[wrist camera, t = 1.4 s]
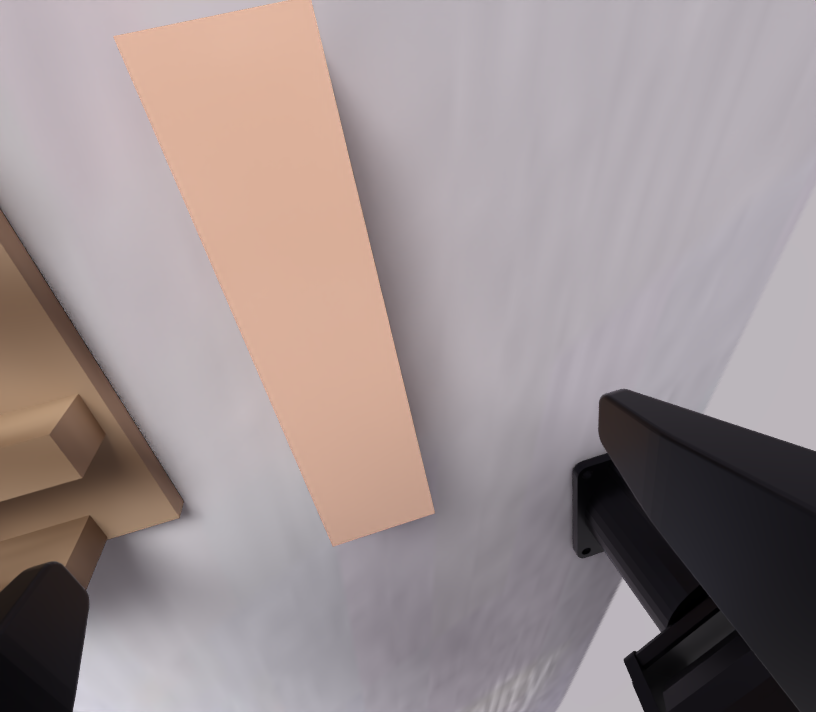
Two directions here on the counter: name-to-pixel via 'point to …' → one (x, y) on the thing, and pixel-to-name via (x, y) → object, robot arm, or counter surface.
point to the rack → (63, 437)
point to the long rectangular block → (288, 247)
